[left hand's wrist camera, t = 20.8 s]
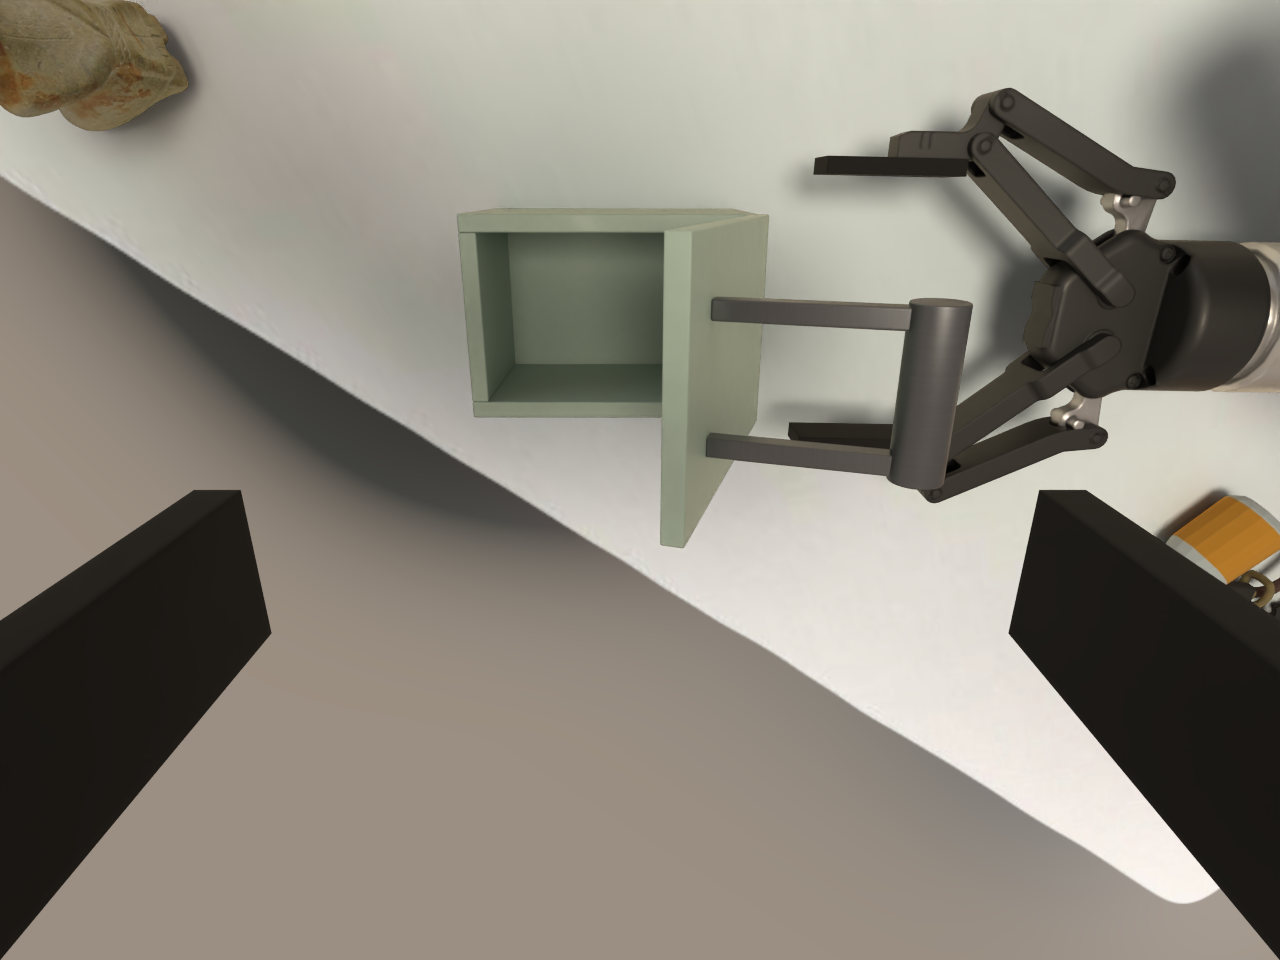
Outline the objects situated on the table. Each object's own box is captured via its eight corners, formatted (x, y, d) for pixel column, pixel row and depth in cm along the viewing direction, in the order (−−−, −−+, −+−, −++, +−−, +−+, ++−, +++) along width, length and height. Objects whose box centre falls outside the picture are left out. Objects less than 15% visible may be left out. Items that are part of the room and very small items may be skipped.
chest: (505, 373, 46) (473, 417, 37) (494, 208, 42) (456, 213, 33) (726, 374, 46) (747, 418, 37) (733, 209, 42) (759, 214, 33)
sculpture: (44, 32, 39) (-291, -55, 25) (167, -10, 38) (-106, -126, 24) (102, 149, 41) (-177, 129, 27) (220, 111, 40) (-4, 69, 26)
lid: (659, 545, 24) (940, 585, 21) (663, 230, 20) (1000, 236, 18) (740, 419, 37) (920, 435, 34) (751, 214, 33) (953, 216, 31)
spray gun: (1390, 536, 50) (1238, 697, 56) (1204, 451, 47) (1062, 632, 53) (1456, 569, 46) (1285, 738, 52) (1258, 480, 43) (1098, 671, 49)
